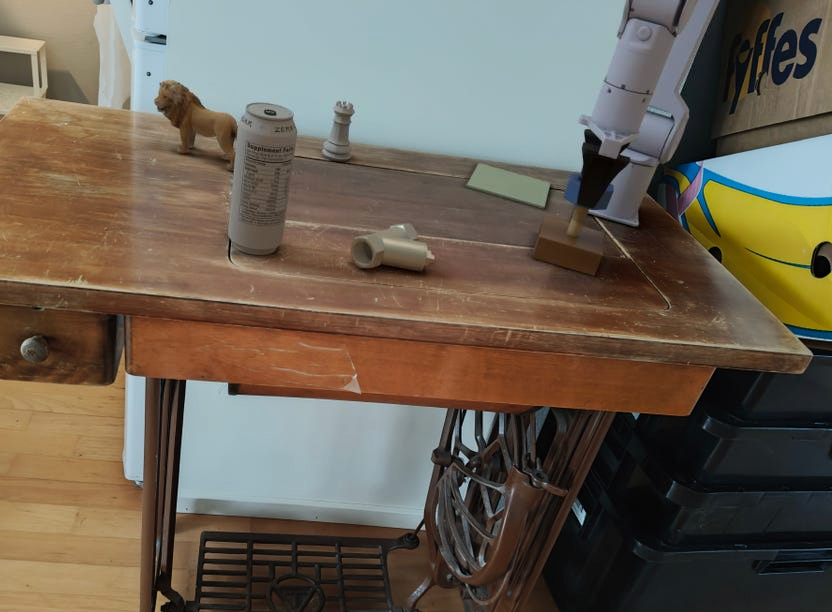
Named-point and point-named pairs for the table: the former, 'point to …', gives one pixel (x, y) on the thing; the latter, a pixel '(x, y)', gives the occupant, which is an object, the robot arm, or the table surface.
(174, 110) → the lion figurine
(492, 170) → the mat
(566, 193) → the ring
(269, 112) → the energy drink can
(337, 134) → the rook chess piece
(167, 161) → the table surface
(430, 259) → the pipe fitting
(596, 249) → the dowel stand
